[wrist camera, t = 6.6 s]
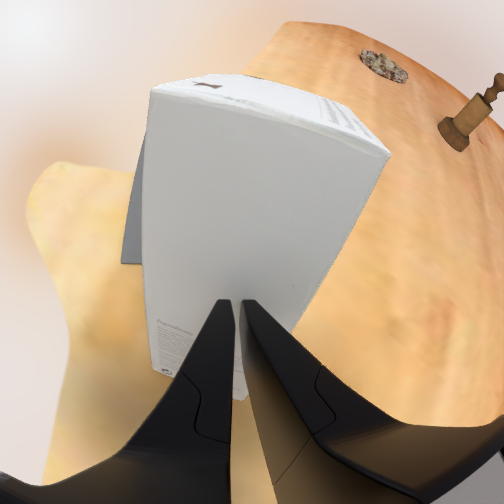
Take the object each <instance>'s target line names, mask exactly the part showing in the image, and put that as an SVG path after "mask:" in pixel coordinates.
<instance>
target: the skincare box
mask: <svg viewBox="0 0 504 504" xmlns="http://www.w3.org/2000/svg"><path fill="white" fill-rule="evenodd" d="M390 157H391V152H390V151H389V150H388V149H387V148H386V147H385V146H384V145H383V144H382V142H381V141H380V140H379V139H378V138H377V137H376V136H375V135H374V134H373V133H372V132H371V131H370V130H369V129H368V128H367V127H366V126H365V125H364V124H363V123H362V122H361V121H360V120H359V119H358V118H357V117H356V116H355V114H354V113H353V112H352V111H351V110H350V108H348V107H346V106H344V105H342V104H339V103H337V102H335V101H332V100H330V99H327V98H324V97H321V96H318V95H315V94H312V93H309V92H306V91H303V90H300V89H297V88H294V87H290V86H287V85H283V84H280V83H276V82H273V81H269V80H265V79H261V78H257V77H252V76H248V75H243V74H241V75H240V74H207V75H205V76H203V77H195V78H190V79H184V80H179V81H174V82H169V83H165V84H161V85H157V86H155V87H154V88H153V89H151V92H150V100H149V109H148V117H147V128H146V136H145V148H144V163H143V181H142V266H143V284H144V301H145V312H146V322H147V332H148V340H149V348H150V356H151V362H152V368H153V369H154V370H155V371H158V372H160V373H162V374H165V375H167V376H169V377H172V378H174V377H175V375H176V373H177V371H179V368H180V366H181V364H182V362H183V361H184V359H185V357H186V355H187V353H188V351H189V350H190V348H191V346H192V344H193V342H194V341H195V339H196V337H197V335H198V333H199V331H200V330H201V328H202V326H203V324H204V322H205V321H206V319H207V317H208V315H209V313H210V312H211V310H212V308H213V306H214V304H215V303H216V301H217V300H218V299H229V300H231V303H232V308H233V314H234V318H235V325H236V333H235V353H234V375H233V398H232V399H234V400H238V401H243V400H245V398H246V397H247V396H248V394H249V393H248V388H247V384H246V380H245V376H244V371H243V365H242V356H241V344H240V332H239V316H240V307H241V301H242V300H243V299H254V300H256V301H257V302H258V303H259V304H260V305H261V306H262V307H263V308H264V309H265V310H266V311H267V312H268V313H269V314H270V315H271V316H272V317H273V318H274V319H275V320H277V321H278V322H279V323H280V324H281V325H282V326H283V327H284V328H285V329H286V330H287V331H288V332H289V333H290V334H291V332H292V331H293V329H294V327H295V326H296V324H297V323H298V321H299V320H300V318H301V316H302V315H303V313H304V312H305V310H306V308H307V307H308V305H309V303H310V302H311V300H312V299H313V297H314V295H315V293H316V292H317V290H318V288H319V287H320V285H321V283H322V282H323V280H324V278H325V277H326V275H327V273H328V272H329V270H330V268H331V266H332V265H333V263H334V261H335V259H336V258H337V256H338V254H339V252H340V251H341V249H342V247H343V245H344V243H345V242H346V240H347V238H348V236H349V234H350V232H351V231H352V229H353V227H354V225H355V223H356V221H357V219H358V217H359V216H360V214H361V212H362V210H363V208H364V206H365V204H366V202H367V200H368V198H369V196H370V195H371V193H372V191H373V189H374V187H375V185H376V183H377V180H378V178H379V176H380V174H381V172H382V170H383V168H384V166H385V164H386V162H387V161H388V160H389V158H390Z"/></svg>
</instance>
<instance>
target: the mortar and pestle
mask: <svg viewBox="0 0 504 504" xmlns="http://www.w3.org/2000/svg"><path fill="white" fill-rule="evenodd" d="M502 91H504V74H502V73H497V74H496V75H495V77H494V84H493V86H492V87H491V88H487V90H486V92H485V94H484V96H482V95H481V94H479V93H476V95H475V96H474V97H473V98H472V99H471V100H470V101H469V103H468V104H467V105H466V106H465V107H464V108H463V109H462V110H461V111H460V112H459V113H458V114H457V116H456V117H455V118H452V117H445V118H444V119H443V120H442V121H441V122H440V123H439V125H438V128H439V130H440V133H441V134H442V136H443V137H444V139H445V140H446V141H447V142H448V143H449V144H450V145H451V146H452V147H453V148H454V149H456V150H457V151H460V152H462V151H463V150H464V149H465V148H466V147H467V146H468V145H469V143H470V142H469V134H470V133H471V132H472V131H473V130H474V129H475V128H476V127H477V126H478V125H479V124H480V123H481V122H482V121H483V120H484V119H485V118H486V117H487V116H488V115H489V114H490V113H491V112H492V111H493V109H492V107H491V105H490V104H489V103H491V102H493V101H494V100H496V99H497V94H498V93H499V92H502Z"/></svg>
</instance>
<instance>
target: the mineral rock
mask: <svg viewBox="0 0 504 504" xmlns="http://www.w3.org/2000/svg"><path fill="white" fill-rule="evenodd" d="M360 57H361V58H362V60H363V63H364V64H365V65H367V67H369V68H370V69H372V70H373V71H374V72H375V73H376V74H379V75H382V76H384V77H385V78H387V79H391V80H393V81H396V82H398V83H401V82H402V83H405V82H406V80H407V79H408V77H407V76H408V74H407V72H406V71H404V70H403V69H401V68H400V67H399V66H398V65H396V63H395V62H394V61H391V60H389V59H388V58H387V56H386V55H385V54H384V53H381V54H380V55H379V56H378V55H377V54H376V53H375V52H372V51H367V50H365V49H362V53H361V56H360Z"/></svg>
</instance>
